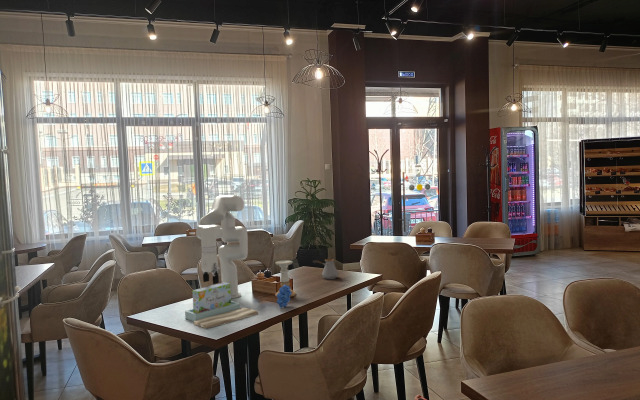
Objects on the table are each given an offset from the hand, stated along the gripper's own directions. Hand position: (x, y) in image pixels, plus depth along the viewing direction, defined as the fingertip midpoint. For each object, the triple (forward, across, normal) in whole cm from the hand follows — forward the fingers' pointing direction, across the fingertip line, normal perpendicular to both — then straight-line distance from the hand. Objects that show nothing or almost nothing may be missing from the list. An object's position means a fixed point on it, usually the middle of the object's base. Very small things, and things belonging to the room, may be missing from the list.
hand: (211, 282), depth 241 cm
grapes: (+17, +18, +33) cm, 41 cm away
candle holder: (+16, -1, +50) cm, 52 cm away
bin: (+17, -1, +1) cm, 17 cm away
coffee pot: (+16, -12, +94) cm, 96 cm away
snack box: (+17, -1, +1) cm, 17 cm away
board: (+17, +12, +1) cm, 21 cm away
